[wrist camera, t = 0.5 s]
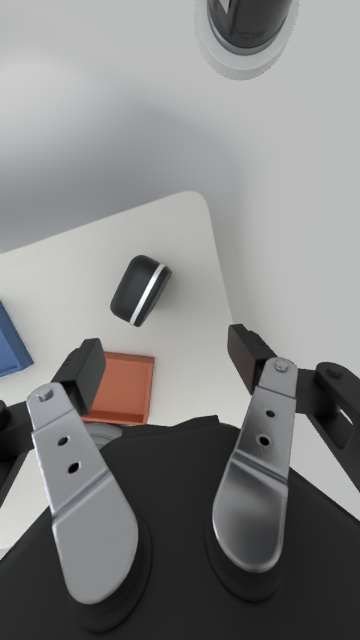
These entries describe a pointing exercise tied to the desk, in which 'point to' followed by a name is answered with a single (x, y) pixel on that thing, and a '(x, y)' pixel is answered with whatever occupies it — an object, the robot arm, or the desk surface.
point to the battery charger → (139, 289)
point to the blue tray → (11, 347)
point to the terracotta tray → (123, 390)
